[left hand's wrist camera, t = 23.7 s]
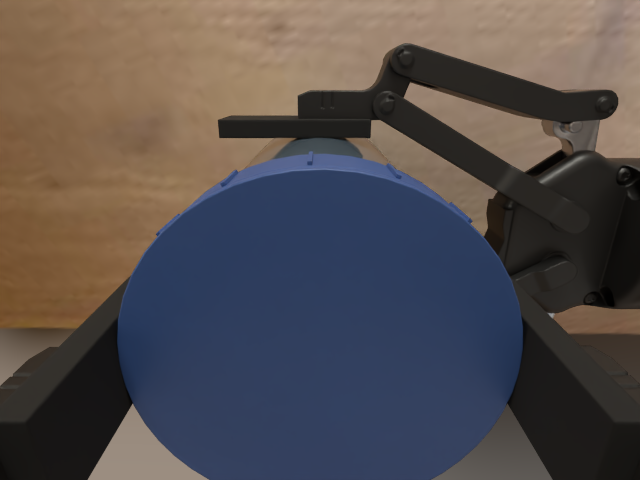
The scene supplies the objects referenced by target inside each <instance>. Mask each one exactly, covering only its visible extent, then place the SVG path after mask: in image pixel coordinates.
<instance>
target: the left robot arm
mask: <svg viewBox="0 0 640 480" xmlns="http://www.w3.org/2000/svg"><path fill="white" fill-rule="evenodd" d="M130 277H131V276H130ZM130 277H129V278H128V279H127V280H126V281H125V282H124V283H123V284H122V285H121V286H120V287H119V288H118V289H117V290H116V291H115V292H114V293H113V294H112V295H111V296H110V297H109V298H108V299H107V300H106V301H105V302H104V303H103V304H102V305H101V306H100V307H99V308H98V309H97V310H96V311H95V312H94V313H93V314H92V315H91V316H90V317H89V318H88V319H87V320H86V321H85V322H84V323H83V324H82V325H81V326H80V327H79V328H78V329H77V330H76V331H74V333H72V334H71V335H70V337H68V338H67V339H66V340H65V341H64V342H63V343H62V344H61V345H60V346H59V347H49V348H47V349H46V350H44V351H42V352H40V353H39V354H37V355H35V356H34V357H32V358H30V359H29V360H28V361H26V362H25V363H24V364H23V365H22V366H21V367H20V368H19V369H18V370H17V371H16V372H15V373H14V374H13V377H9V378H8V379H7V380H6V381H5V382H4V383H3V384H2V385H1V386H0V480H88V478H89V476H90V475H91V473H92V471H93V469H94V468H95V466H96V464H97V463H98V461H99V459H100V458H101V456H102V454H103V453H104V451H105V449H106V448H107V446H108V444H109V442H110V441H111V439H112V437H113V436H114V434H115V432H116V431H117V429H118V427H119V426H120V424H121V422H122V421H123V419H124V417H125V415H126V414H127V412H128V410H129V409H130V407H131V405H132V404H133V402H132V400H131V398H130V395H129V393H128V391H127V388H126V386H125V383H124V379H123V375H122V371H121V367H120V362H119V355H118V346H117V335H118V318H119V313H120V309H121V304H122V299H123V295H124V293H125V290H126V288H127V285H128V283H129V280H130ZM509 277H510V276H509ZM510 279H511V281H512V284H513V287H514V290H515V293H516V296H517V299H518V302H519V306H520V312H521V318H522V325H523V352H522V358H521V364H520V369H519V374H518V377H517V380H516V383H515V386H514V389H513V393H512V395H511V397H510V399H509V401H508V405H509V407H510V408H511V410H512V412H513V413H514V415H515V417H516V418H517V420H518V422H519V423H520V425H521V427H522V429H523V430H524V432H525V434H526V435H527V437H528V439H529V440H530V442H531V444H532V445H533V447H534V449H535V450H536V452H537V454H538V456H539V457H540V459H541V461H542V462H543V464H544V466H545V467H546V469H547V471H548V472H549V474H550V476H551V477H552V479H553V480H640V384H639V383H638V382H637V381H636V380H635V379H634V378H633V377H632V376H631V375H628V373H627V372H626V371H625V370H624V369H623V368H622V367H621V366H620V365H619V364H618V363H617V362H616V361H615V360H614V359H612V358H611V357H609V356H608V355H606V354H604V353H602V352H601V351H599V350H597V349H596V348H594V347H592V346H580V345H579V344H578V343H577V342H576V341H575V340H574V339H573V338H572V337H571V336H570V335H569V334H568V333H567V332H566V331H565V330H564V329H563V328H562V327H561V326H560V325H559V324H558V323H557V322H556V321H555V320H554V319H553V318H552V317H551V316H550V315H549V314H548V313H547V312H546V311H545V310H544V309H543V308H542V307H541V306H540V305H539V304H538V303H537V302H536V301H535V300H534V299H533V298H532V297H531V296H530V295H529V294H528V293H527V292H526V291H525V290H524V289H523V288H522V287H521V286H520V285H519V284H518V283H517V282H515V281H514V280H513V279H512V278H511V277H510Z"/></svg>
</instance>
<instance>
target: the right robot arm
mask: <svg viewBox="0 0 640 480" xmlns="http://www.w3.org/2000/svg"><path fill="white" fill-rule="evenodd" d="M410 82H411V83H414V84H417V85H421V86H424V87H427V88H430V89H433V90H437V91H440V92H443V93H446V94H450V95H453V96H456V97H459V98H463V99H466V100H469V101H472V102H476V103H479V104H482V105H485V106H488V107H492V108H495V109H498V110H501V111H505V112H508V113H511V114H514V115H518V116H522V117H528V118H534V119H541V120H542V122H541V124H542V126H543V130H544V132H545V133H546V134H547V135H549V136H553V137H556V138H558V139H559V140H560V141H561V143H562V149H561V150H559V151H557V152H556V153H554V154H553V155H551V156H549V157H548V158H546V159H545V160H543V161H542V162H540V163H538V164H537V165H535V166H534V167H532V168H531V169H529V170H527V171H526V172H523V171H521V170H519V169H517V168H515V167H513V166H511V165H510V164H508V163H506V162H505V161H503V160H502V159H500V158H498V157H497V156H495V155H494V154H492V153H490V152H489V151H487V150H486V149H484V148H482V147H481V146H479V145H478V144H476V143H474V142H473V141H471V140H470V139H468V138H466V137H465V136H463V135H462V134H460V133H458V132H457V131H455V130H454V129H452V128H450V127H449V126H447V125H446V124H444V123H442V122H441V121H439V120H438V119H436V118H434V117H433V116H431V115H430V114H428V113H426V112H425V111H423V110H422V109H420V108H418V107H417V106H415V105H414V104H412V103H410V102H409V101H407V100H406V99H404V95H405V93H406V90H407V88H408V86H409V83H410ZM617 106H618V97H617V95H616V93H614V92H613V91H611V90H561V91H558V90H555V89H551V88H548V87H545V86H542V85H539V84H536V83H533V82H529V81H526V80H523V79H520V78H517V77H514V76H511V75H507V74H504V73H501V72H498V71H495V70H492V69H489V68H486V67H482V66H479V65H476V64H473V63H470V62H467V61H464V60H460V59H457V58H454V57H451V56H448V55H445V54H442V53H439V52H435V51H432V50H429V49H426V48H423V47H420V46H417V45H413V44H408V43H405V44H402V45H399V46H397V47H396V48H394V49H392V50H390V51H389V52H388V53H387V54H386V55H385V57H384V59H383V65H382V67H381V70H380V73H379V75H378V78H377V80H376V82H375V83H374V84H373V85H372V86H371V87H370V88H368V89H366V90H360V91H352V90H310V91H307V92H305V93H303V94H300V95H298V116H229V117H225V118H222V119H219V120H218V126H219V138H370V134H371V120H381V121H383V122H385V123H386V124H388V125H389V126H391V127H393V128H394V129H396V130H398V131H399V132H401V133H403V134H404V135H406V136H408V137H409V138H411V139H413V140H414V141H416V142H418V143H419V144H421V145H422V146H424V147H426V148H427V149H429V150H431V151H432V152H434V153H436V154H437V155H439V156H441V157H442V158H444V159H446V160H447V161H449V162H451V163H452V164H454V165H456V166H457V167H459V168H460V169H462V170H464V171H465V172H467V173H469V174H470V175H472V176H474V177H475V178H477V179H478V180H480V181H482V182H483V183H485V184H487V185H488V186H490V187H492V188H493V189H495V190H497V191H498V192H497V193H496V195H495V196H494V198H493V199H489V200H488V206H487V221H488V229H487V231H486V234H485V236H484V238H485V239H486V241H487V242H488V243H489V245H490V246H491V247H492V249H493V250H494V251H495V253H496V254H497V255H498V257H499V258H500V260H501V262H502V263H503V265H504V267H505V269H506V271H507V273H508V275H509V276H510V277H511V278H512V279H513V280H514V281H515V282H517V283H518V284H519V285H520V286H521V287H522V288H523V289H524V290H525V291H526V292H527V293H528V294H529V295H530V296H531V297H532V298H533V299H534V300H535V301H536V302H537V303H538V304H539V305H540V306H541V307H542V308H543V309H544V310H545V311H546V312H547V313H548V314H549V315H550V316H551V317H552V318H553V317H554V314H555V313H559V312H562V311H565V310H567V309H569V308H572V307H575V306H579V305H590V306H597V307H603V308H611V309H640V158H605V157H603V156H602V155H601V154H599V153H597V152H595V147H596V141H597V135H598V129H599V123H600V120H602V119H606V118H608V117H609V116H611V115H612V114H613V113H614V112H615V110H616V108H617Z"/></svg>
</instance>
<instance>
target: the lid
mask: <svg viewBox="0 0 640 480" xmlns="http://www.w3.org/2000/svg"><path fill="white" fill-rule="evenodd" d="M471 222H472V220H471V219H470V218H469V217H468V216H467V215H465V214H464V213H463V212H462V211H461V210H460V209H459V208H457V207H456V206H455V205H454V204H453V203H452V202H450V203H449V204H448V203H447V202H446V201H445V200H444V199H443V198H442V197H441V196H439V195H438V194H436V193H435V192H434V191H432V190H431V189H430V188H428V187H427V186H426V185H424V184H423V183H421V182H420V181H418V180H416V179H414V178H412V177H410V176H409V175H407V174H405V173H403V172H401V171H399V170H397V169H395V168H394V167H393V166H392V165H391V164H389V163H387V165H383V164H380V163H378V162H375V161H370V160H366V159H361V158H357V157H352V156H344V155H332V154H313V151H309V155H295V156H290V157H284V158H279V159H273V160H270V161H267V162H264V163H260V164H257V165H254V166H251V167H248V168H246V169H244V170H242V171H240V172H238V171H237V170H235V171H233V172H232V173H231V174H230V175H229V176H228V177H227V178H225V179H224V180H222V181H221V182H219V183H218V184H216V185H215V186H213V187H212V188H210V189H209V190H207V191H206V192H205V193H204V194H203V195H201V196H200V197H199V198H198V199H197V200H196V201H195V202H194V203H193V204H191V205H190V206H189V207H188V208H187V209H186V210H185V211H184V212H183V213H181V214H177V215H176V216H175V217H174V218H173V219H172V220H171V221H170V222H168V223H167V224H166V225H165V226H164V227H163V228H162V229H161V230H159V231H158V232H157V234H156V235H157V238H156V239H155V240H154V241H153V243H152V244H151V245H150V246H149V247H148V249H147V250H146V251H145V252H144V254H143V256H142V257H141V259H140V261H139V263H138V264H137V266H136V268H135V269H134V271H133V273H132V275H131V277H130V280H129V283H128V285H127V288H126V290H125V293H124V295H123V299H122V304H121V309H120V313H119V318H118V335H117V346H118V355H119V362H120V367H121V371H122V375H123V379H124V383H125V386H126V388H127V391H128V393H129V395H130V398H131V400H132V402H133V404H134V406H135V408H136V410H137V411H138V413H139V415H140V416H141V418H142V419H143V421H144V423H145V424H146V426H147V427H148V428H149V429H150V430H151V432H152V433H153V434H154V435H155V437H156V438H157V439H158V440H159V441H160V442H161V443H162V444H163V445H164V446H165V447H166V448H167V449H168V450H169V451H170V452H171V453H172V454H173V455H174V456H175V457H177V458H178V459H179V460H181V461H182V462H183V463H185V464H186V465H187V466H188V467H190V468H191V469H192V470H194V471H196V472H197V473H199V474H201V475H202V476H204V477H206V478H207V479H209V480H431V479H433V478H435V477H437V476H438V475H440V474H442V473H443V472H445V471H446V470H448V469H449V468H450V467H452V466H453V465H455V464H456V463H458V462H459V461H460V460H462V459H463V458H464V457H465V456H466V455H467V454H468V453H469V452H470V451H472V450H473V449H474V448H475V447H476V446H477V445H478V444H479V443H480V442H481V440H482V439H483V438H484V437H485V436H486V435H487V434H488V433H489V431H490V430H491V429H492V427H493V426H494V424H495V423H496V421H497V420H498V419H499V417H500V415H501V414H502V413H503V411H504V409H505V407H506V405H507V403H508V401H509V399H510V397H511V395H512V393H513V389H514V386H515V383H516V380H517V377H518V374H519V369H520V364H521V358H522V352H523V325H522V318H521V312H520V306H519V302H518V299H517V296H516V293H515V290H514V287H513V284H512V281H511V279H510V277H509V275H508V273H507V271H506V269H505V267H504V265H503V263H502V262H501V260H500V258H499V257H498V255H497V254H496V253H495V251H494V250H493V249H492V247H491V246H490V245H489V243H488V242H487V241H486V239H485V238H484V237H483V236H482V235H481V234H480V233H479V232H478V231H477V230H476V229H475V228H474V227H473V226H472V225H471V224H470V223H471Z"/></svg>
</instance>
